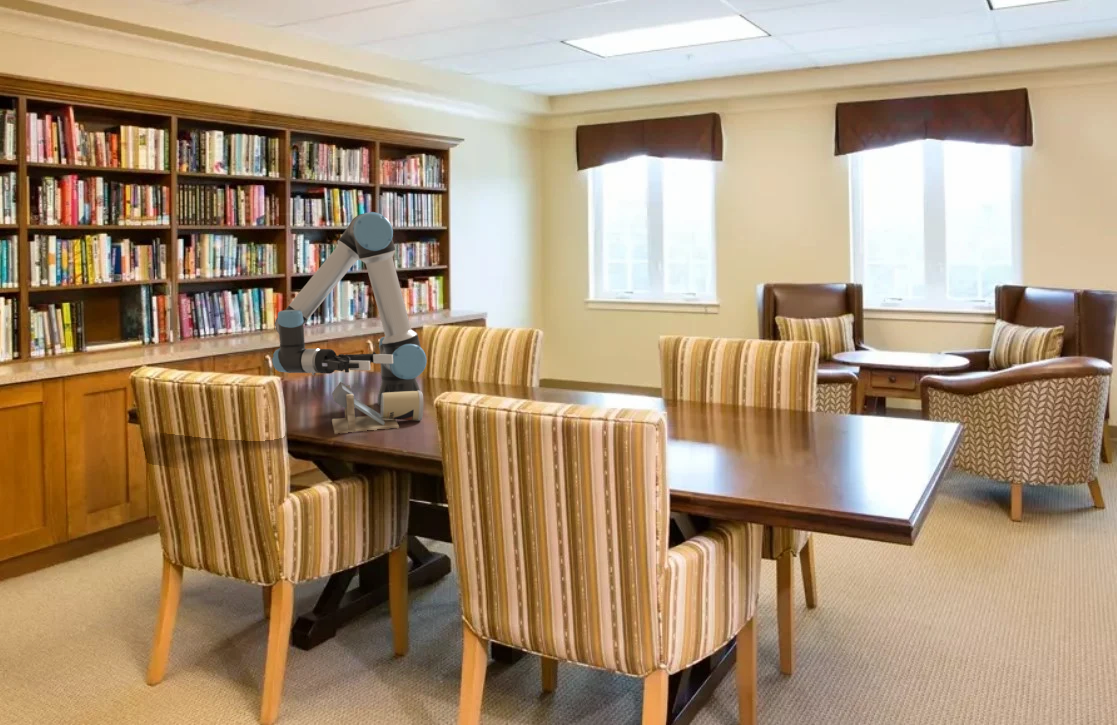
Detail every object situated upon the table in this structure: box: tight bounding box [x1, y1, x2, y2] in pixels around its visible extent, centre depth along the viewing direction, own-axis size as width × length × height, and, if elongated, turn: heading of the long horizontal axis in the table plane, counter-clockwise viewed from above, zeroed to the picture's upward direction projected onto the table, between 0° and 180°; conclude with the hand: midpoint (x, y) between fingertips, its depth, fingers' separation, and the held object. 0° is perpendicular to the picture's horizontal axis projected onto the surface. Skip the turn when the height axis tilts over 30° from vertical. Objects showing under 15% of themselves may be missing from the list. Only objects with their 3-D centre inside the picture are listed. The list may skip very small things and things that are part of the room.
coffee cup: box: [380, 390, 424, 422], centre depth 278 cm, size 9×9×12 cm
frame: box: [331, 384, 400, 435], centre depth 276 cm, size 18×19×11 cm
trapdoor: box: [331, 381, 385, 425], centre depth 275 cm, size 16×14×4 cm
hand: (381, 362), depth 274 cm, fingers open, 13 cm apart
